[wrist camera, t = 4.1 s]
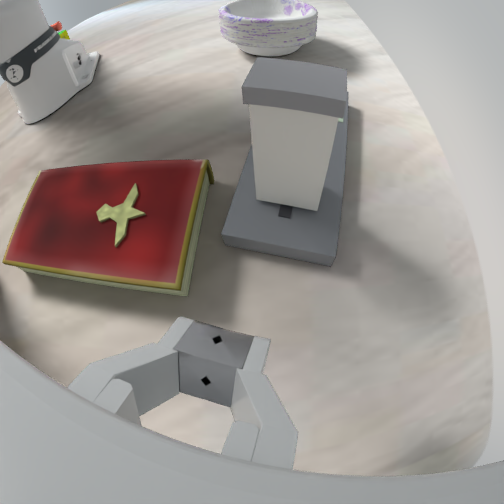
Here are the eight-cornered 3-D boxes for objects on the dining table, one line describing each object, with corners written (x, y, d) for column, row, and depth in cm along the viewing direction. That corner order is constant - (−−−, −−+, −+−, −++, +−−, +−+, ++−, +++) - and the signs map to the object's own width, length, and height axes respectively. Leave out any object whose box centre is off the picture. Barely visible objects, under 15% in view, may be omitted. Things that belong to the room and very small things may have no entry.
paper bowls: (329, 43, 40) (332, 5, 32) (287, 75, 35) (288, 27, 28) (256, 25, 44) (253, -8, 37) (204, 54, 39) (197, 14, 32)
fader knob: (319, 214, 23) (346, 101, 13) (253, 202, 24) (241, 86, 13) (324, 180, 24) (346, 69, 14) (263, 169, 25) (257, 57, 15)
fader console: (330, 266, 23) (335, 256, 22) (224, 244, 25) (221, 233, 23) (345, 104, 32) (348, 91, 30) (275, 92, 33) (275, 79, 31)
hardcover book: (57, 186, 30) (40, 166, 26) (215, 182, 28) (207, 153, 24) (24, 275, 25) (0, 261, 21) (193, 303, 23) (178, 288, 20)
